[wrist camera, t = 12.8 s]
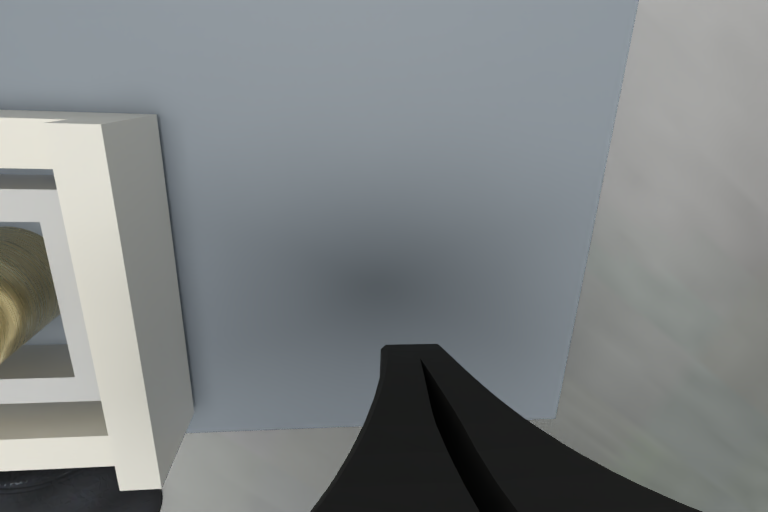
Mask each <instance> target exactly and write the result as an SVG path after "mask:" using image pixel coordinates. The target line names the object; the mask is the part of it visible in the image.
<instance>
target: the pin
mask: <svg viewBox="0 0 768 512" xmlns="http://www.w3.org/2000/svg"><path fill="white" fill-rule="evenodd" d="M59 314H60V309H59V305H58V300H57V296H56V291H55V287H54V283H53V278H52V274H51V269H50V265H49V260H48V256H47V252H46V247H45V243H44V238H43V237H42V236H40V235H38V234H36V233H34V232H31V231H29V230H25V229H22V228H17V227H6V226H5V227H0V364H1V363H2V362H4V361H5V360H6V359H7V358H8V357H9V356H11V355H12V354H13V353H14V352H15V351H17V350H18V349H19V348H20V347H21V346H22V345H24V344H25V343H26V342H27V341H28V340H30V339H31V338H32V337H33V336H34V335H36V334H37V333H38V332H39V331H40V330H41V329H43V328H44V327H45V326H46V325H47V324H49V323H50V322H51V321H52V320H53V319H55V318H56V317H57V316H58V315H59Z"/></svg>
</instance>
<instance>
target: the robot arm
mask: <svg viewBox="0 0 768 512" xmlns="http://www.w3.org/2000/svg"><path fill="white" fill-rule="evenodd" d="M311 512H702V511H699V510H697V509H694V508H691V507H689V506H686V505H684V504H682V503H679V502H677V501H675V500H672V499H670V498H668V497H666V496H663V495H661V494H659V493H657V492H655V491H652V490H650V489H648V488H646V487H643V486H641V485H639V484H637V483H635V482H633V481H631V480H629V479H627V478H625V477H623V476H621V475H619V474H616V473H615V472H613V471H611V470H609V469H607V468H605V467H603V466H601V465H600V464H598V463H596V462H594V461H592V460H590V459H589V458H587V457H585V456H583V455H581V454H579V453H578V452H576V451H574V450H573V449H571V448H569V447H567V446H566V445H564V444H563V443H561V442H559V441H558V440H556V439H555V438H553V437H552V436H550V435H549V434H547V433H546V432H544V431H542V430H541V429H539V428H538V427H536V426H535V425H533V424H532V423H531V422H529V421H528V420H526V419H525V418H523V417H522V416H521V415H519V414H518V413H517V412H516V411H514V410H513V409H512V408H510V407H509V406H508V405H506V404H505V403H504V402H503V401H501V400H500V399H499V398H498V397H496V396H495V395H494V394H493V393H491V392H490V391H489V390H488V389H487V388H486V387H484V386H483V385H482V384H481V383H480V382H479V381H478V380H476V379H475V378H474V377H473V376H472V375H471V374H470V373H469V372H468V371H466V370H465V369H464V368H463V367H462V366H461V365H460V364H459V363H458V362H457V361H456V360H455V359H454V358H453V357H452V356H450V355H449V354H448V353H447V352H446V351H445V350H444V349H443V348H442V347H441V346H440V345H439V344H397V345H385V346H384V347H383V348H381V353H380V378H379V382H378V385H377V389H376V393H375V396H374V399H373V402H372V404H371V407H370V410H369V412H368V415H367V417H366V420H365V422H364V425H363V427H362V429H361V431H360V433H359V435H358V438H357V440H356V441H355V443H354V445H353V447H352V449H351V451H350V453H349V455H348V456H347V458H346V460H345V461H344V463H343V465H342V467H341V468H340V470H339V472H338V473H337V475H336V476H335V478H334V480H333V481H332V483H331V484H330V486H329V487H328V489H327V490H326V491H325V493H324V494H323V495H322V497H321V498H320V499H319V501H318V502H317V503H316V505H315V506H314V507H313V509H312V510H311Z"/></svg>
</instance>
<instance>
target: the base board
mask: <svg viewBox="0 0 768 512" xmlns="http://www.w3.org/2000/svg"><path fill="white" fill-rule="evenodd" d="M638 2H639V0H0V110H29V111H62V112H95V113H128V114H157V122H158V130H159V138H160V145H161V153H162V161H163V169H164V177H165V185H166V193H167V201H168V209H169V217H170V224H171V232H172V240H173V248H174V256H175V264H176V272H177V280H178V288H179V296H180V303H181V311H182V319H183V327H184V335H185V343H186V351H187V359H188V367H189V375H190V382H191V390H192V398H193V406H194V414H193V416H192V419H191V421H190V423H189V426H188V428H187V430H186V433H202V432H227V431H252V430H278V429H303V428H328V427H354V426H363V425H364V422H365V420H366V417H367V415H368V412H369V410H370V407H371V404H372V402H373V399H374V396H375V393H376V389H377V385H378V382H379V378H380V353H381V348H383V347H384V346H385V345H397V344H439V345H440V346H441V347H442V348H443V349H444V350H445V351H446V352H447V353H448V354H449V355H450V356H452V357H453V358H454V359H455V360H456V361H457V362H458V363H459V364H460V365H461V366H462V367H463V368H464V369H465V370H466V371H468V372H469V373H470V374H471V375H472V376H473V377H474V378H475V379H476V380H478V381H479V382H480V383H481V384H482V385H483V386H484V387H486V388H487V389H488V390H489V391H490V392H491V393H493V394H494V395H495V396H496V397H498V398H499V399H500V400H501V401H503V402H504V403H505V404H506V405H508V406H509V407H510V408H512V409H513V410H514V411H516V412H517V413H518V414H519V415H521V416H522V417H523V418H525V419H526V420H531V419H555V418H556V413H557V408H558V403H559V398H560V393H561V388H562V383H563V378H564V373H565V368H566V363H567V358H568V353H569V348H570V343H571V338H572V333H573V328H574V323H575V318H576V313H577V308H578V303H579V298H580V293H581V288H582V283H583V278H584V273H585V268H586V263H587V258H588V253H589V248H590V243H591V238H592V233H593V228H594V223H595V218H596V213H597V208H598V203H599V197H600V192H601V187H602V182H603V177H604V172H605V167H606V162H607V157H608V152H609V147H610V142H611V137H612V132H613V127H614V122H615V117H616V112H617V107H618V102H619V97H620V92H621V87H622V82H623V77H624V72H625V67H626V62H627V57H628V52H629V47H630V42H631V37H632V32H633V27H634V22H635V17H636V12H637V7H638ZM5 226H6V227H17V228H22V229H25V230H29V231H31V232H34V233H36V234H38V235H40V236H42V237H43V238H44V243H45V247H46V252H47V256H48V260H49V265H50V269H51V274H52V278H53V283H54V287H55V291H56V296H57V300H58V305H59V309H60V314H59V315H58V316H57V317H56V318H55V319H53V320H52V321H51V322H50V323H49V324H47V325H46V326H45V327H44V328H43V329H41V330H40V331H39V332H38V333H37V334H36V335H34V336H33V337H32V338H31V339H30V340H28V341H27V342H26V343H25V344H24V345H22V346H21V347H20V348H19V349H18V350H17V351H15V352H14V353H13V354H12V355H11V356H9V357H8V358H7V359H6V360H5V361H4V362H2V363H1V364H0V404H15V403H47V402H78V401H101V398H100V394H99V389H98V384H97V379H96V374H95V370H94V365H93V360H92V355H91V350H90V346H89V341H88V336H87V331H86V326H85V322H84V317H83V312H82V307H81V302H80V298H79V293H78V288H77V283H76V278H75V274H74V269H73V264H72V259H71V254H70V250H69V245H68V240H67V235H66V230H65V226H64V221H63V216H62V211H61V206H60V202H59V197H58V192H57V187H56V182H55V178H54V173H53V169H19V168H0V227H5Z"/></svg>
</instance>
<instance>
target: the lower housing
mask: <svg viewBox="0 0 768 512" xmlns="http://www.w3.org/2000/svg"><path fill="white" fill-rule="evenodd" d="M0 168H19V169H53V173H54V178H55V182H56V187H57V192H58V197H59V202H60V206H61V211H62V216H63V221H64V226H65V230H66V235H67V240H68V245H69V250H70V254H71V259H72V264H73V269H74V274H75V278H76V283H77V288H78V293H79V298H80V302H81V307H82V312H83V317H84V322H85V326H86V331H87V336H88V341H89V346H90V350H91V355H92V360H93V365H94V370H95V374H96V379H97V384H98V389H99V394H100V398H101V401H78V402H47V403H15V404H0V471H19V470H41V469H63V468H85V467H106V466H115V470H116V475H117V480H118V485H119V490H120V491H128V490H147V489H162V487H163V485H164V482H165V480H166V478H167V475H168V473H169V471H170V468H171V466H172V463H173V461H174V459H175V456H176V454H177V452H178V449H179V447H180V445H181V442H182V440H183V438H184V435H185V433H186V430H187V428H188V426H189V423H190V421H191V419H192V416H193V414H194V406H193V398H192V390H191V382H190V375H189V367H188V359H187V351H186V343H185V335H184V327H183V319H182V311H181V303H180V296H179V288H178V280H177V272H176V264H175V256H174V248H173V240H172V232H171V224H170V217H169V209H168V201H167V193H166V185H165V177H164V169H163V161H162V153H161V145H160V138H159V130H158V122H157V114H128V113H95V112H62V111H29V110H0Z"/></svg>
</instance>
